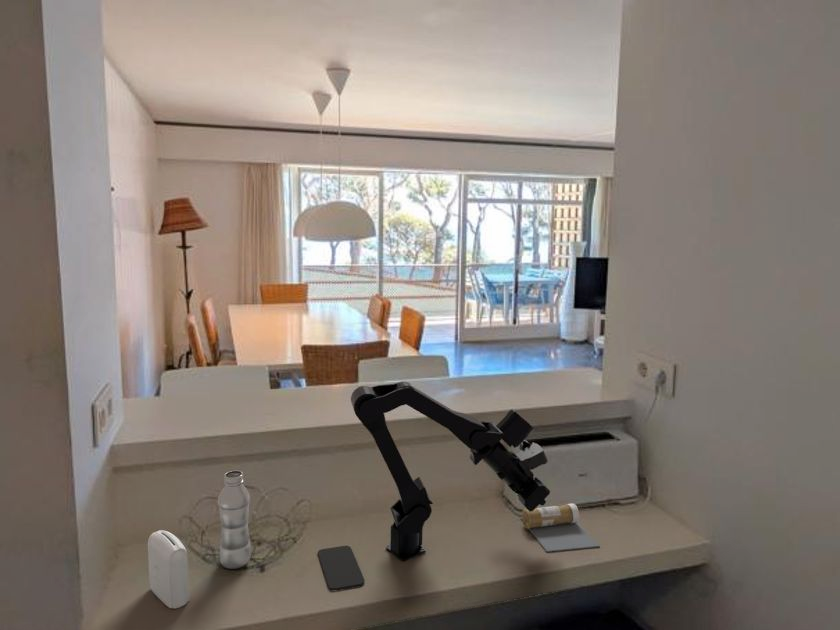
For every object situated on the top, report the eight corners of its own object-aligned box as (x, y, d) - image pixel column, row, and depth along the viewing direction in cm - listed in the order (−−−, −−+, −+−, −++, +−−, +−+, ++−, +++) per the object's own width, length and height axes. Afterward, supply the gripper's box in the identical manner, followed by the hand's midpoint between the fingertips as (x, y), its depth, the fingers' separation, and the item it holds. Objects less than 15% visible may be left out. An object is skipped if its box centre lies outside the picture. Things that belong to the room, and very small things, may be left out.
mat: (546, 552, 132) (546, 551, 132) (519, 517, 148) (519, 516, 148) (599, 546, 135) (599, 545, 135) (567, 513, 150) (567, 512, 150)
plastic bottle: (257, 558, 127) (256, 469, 124) (240, 576, 120) (238, 483, 117) (231, 553, 128) (229, 465, 125) (212, 570, 122) (210, 478, 119)
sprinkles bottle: (529, 532, 140) (580, 525, 143) (529, 513, 140) (580, 507, 143) (521, 524, 144) (570, 518, 148) (520, 506, 144) (570, 500, 148)
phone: (349, 544, 132) (366, 582, 118) (349, 548, 133) (366, 586, 119) (316, 549, 130) (329, 589, 116) (316, 553, 130) (329, 593, 116)
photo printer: (146, 588, 115) (143, 529, 113) (168, 579, 119) (166, 521, 117) (170, 613, 108) (167, 550, 107) (192, 602, 112) (190, 541, 110)
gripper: (543, 451, 124) (588, 496, 128) (511, 421, 142) (551, 462, 146) (506, 488, 124) (552, 533, 128) (478, 454, 142) (519, 494, 146)
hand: (544, 503), depth 137 cm, fingers closed
